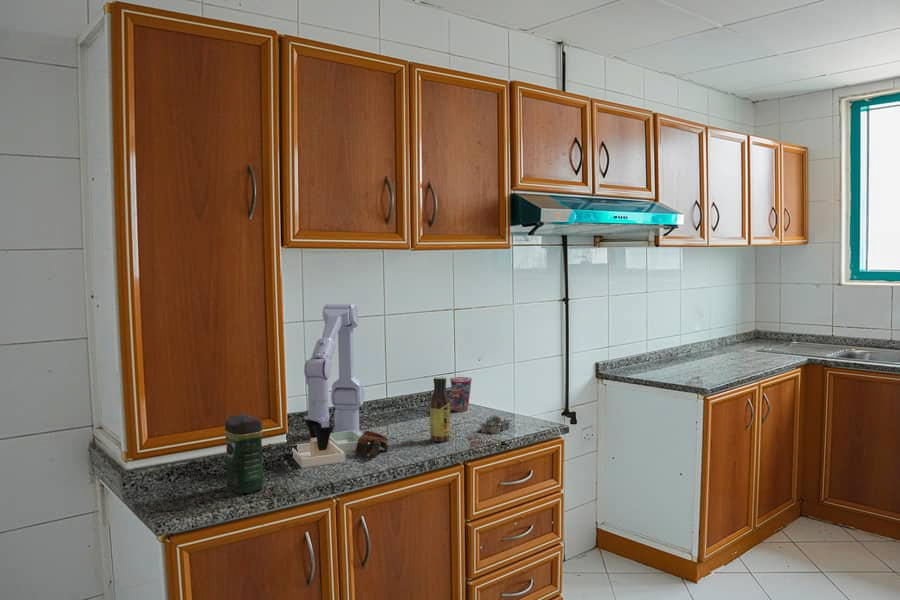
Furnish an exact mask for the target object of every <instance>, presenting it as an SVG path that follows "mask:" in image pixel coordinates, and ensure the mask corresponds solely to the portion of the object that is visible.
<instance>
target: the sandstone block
mask: <svg viewBox="0 0 900 600" xmlns="http://www.w3.org/2000/svg"><path fill="white" fill-rule="evenodd" d="M309 441H310V442H309V443H310V453H311V456H312V457H318V456H325V455H329V441H328V446H327V450H321V451H319V449H318V444H317V438H310V440H309Z"/></svg>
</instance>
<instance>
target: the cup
mask: <svg viewBox="0 0 900 600" xmlns="http://www.w3.org/2000/svg"><path fill="white" fill-rule="evenodd" d="M472 380H473V378H471V377H465V376H458V377H451V378H449V381H450V387H451V388H450V389H451V395H452V402H453V403H452V404H453V408H454V409H453V410H454V412H458V413H461V412H463V413H465V412H467V411H468V410H469V406H470V405H469V404H470V397H471V396H470V395H471V386H472Z"/></svg>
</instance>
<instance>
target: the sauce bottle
mask: <svg viewBox="0 0 900 600" xmlns="http://www.w3.org/2000/svg"><path fill="white" fill-rule="evenodd" d="M433 387H434V388H433V393H432V395H431V397H430V407H429V408H430V409H429V410H430V411H429V413H430V414H429V415H430V417H429V420H430V423H429V426H430V427H429V429H430V430H429V434H430V440H431V441H432V442H436V443H442V442H448V441H449V440H450V436H451V403H450V399H449V396H448V393H447V378H446V377H444V376H435V377H433Z"/></svg>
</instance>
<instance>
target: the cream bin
mask: <svg viewBox="0 0 900 600" xmlns="http://www.w3.org/2000/svg"><path fill="white" fill-rule="evenodd" d="M296 445H297V450H298V452H297V451H296V450H295V449H294V448H292V452H293V457H292V458H293V459H294V461H295V462H296V463H297V464H298V465H299V467H301V469H307V468H311V467H319V466H325V465H326V466H327V465H332V464H333V465H335V464H341V463H346V452H343V451H342V450H341V449H339V448H338V447H337V446H336V445H335V444H334V443H333V442H331V441H330V440H329V455H325V456H318V457H312V456H311V453H310V442H308V443H307V442H306V443H298V444H296Z"/></svg>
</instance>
